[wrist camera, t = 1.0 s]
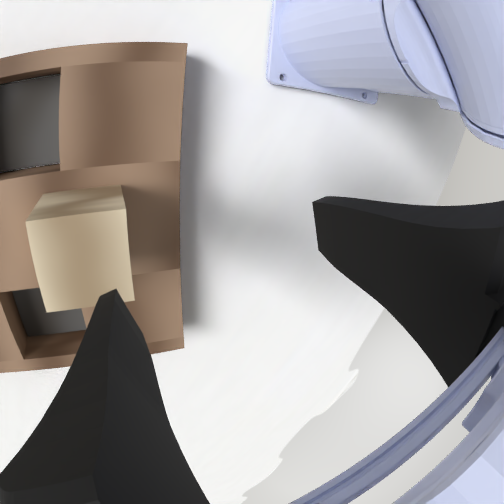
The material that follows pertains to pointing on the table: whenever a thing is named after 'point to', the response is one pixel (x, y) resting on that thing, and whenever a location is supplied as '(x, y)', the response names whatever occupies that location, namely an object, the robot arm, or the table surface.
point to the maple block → (80, 247)
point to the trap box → (91, 183)
